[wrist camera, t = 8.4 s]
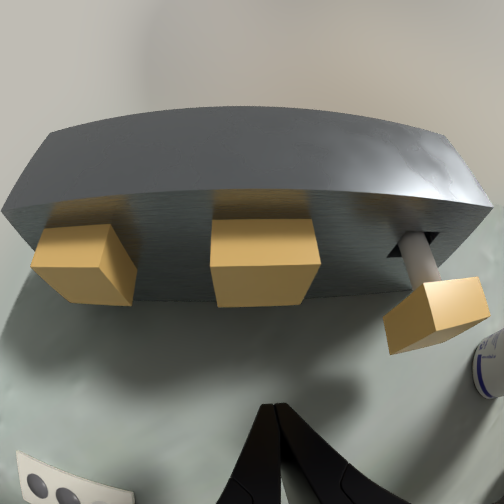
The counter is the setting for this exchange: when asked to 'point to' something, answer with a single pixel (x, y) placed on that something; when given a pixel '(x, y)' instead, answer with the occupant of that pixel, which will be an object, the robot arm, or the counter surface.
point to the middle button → (262, 261)
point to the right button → (431, 301)
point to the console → (252, 191)
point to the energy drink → (490, 366)
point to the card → (63, 486)
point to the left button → (86, 265)
